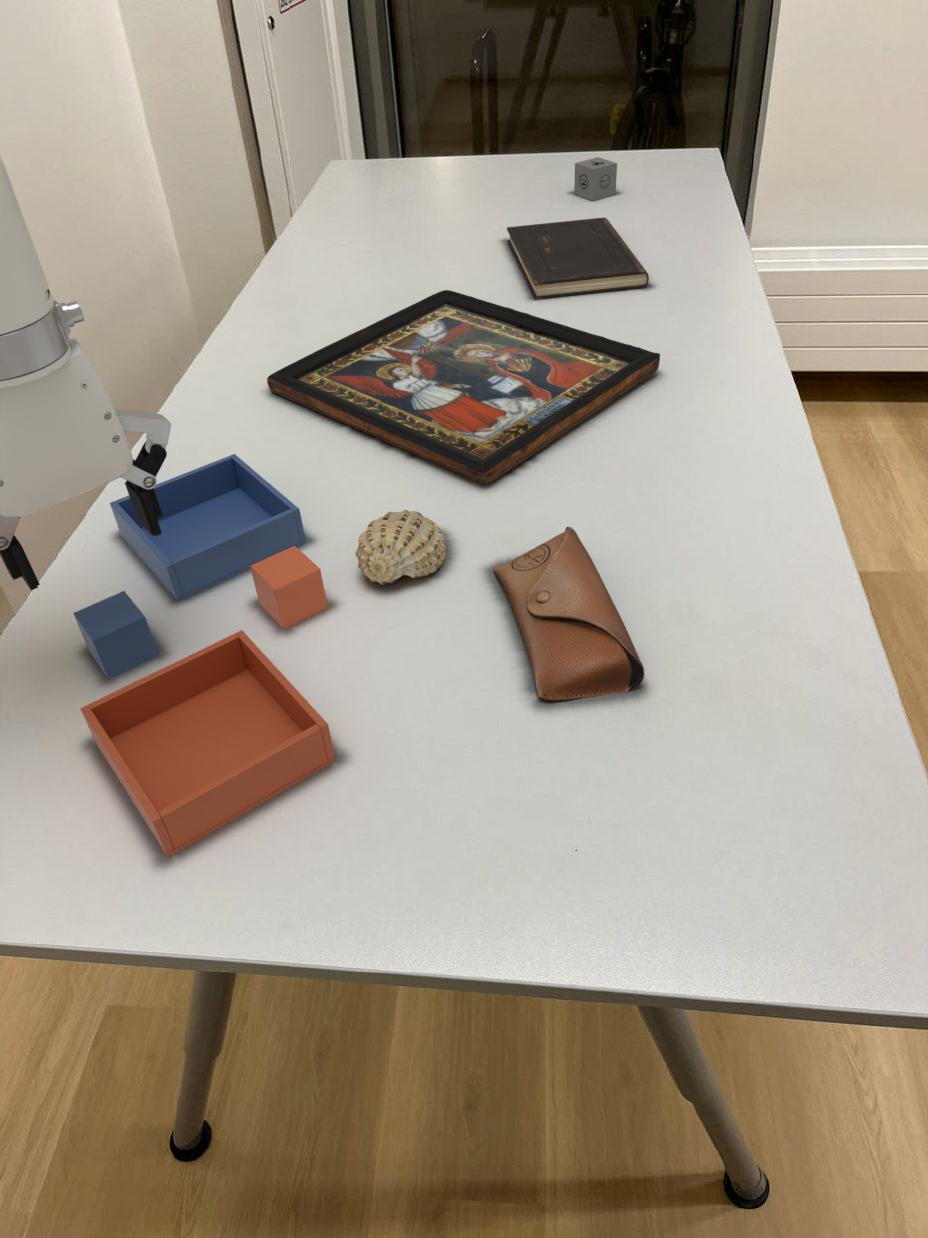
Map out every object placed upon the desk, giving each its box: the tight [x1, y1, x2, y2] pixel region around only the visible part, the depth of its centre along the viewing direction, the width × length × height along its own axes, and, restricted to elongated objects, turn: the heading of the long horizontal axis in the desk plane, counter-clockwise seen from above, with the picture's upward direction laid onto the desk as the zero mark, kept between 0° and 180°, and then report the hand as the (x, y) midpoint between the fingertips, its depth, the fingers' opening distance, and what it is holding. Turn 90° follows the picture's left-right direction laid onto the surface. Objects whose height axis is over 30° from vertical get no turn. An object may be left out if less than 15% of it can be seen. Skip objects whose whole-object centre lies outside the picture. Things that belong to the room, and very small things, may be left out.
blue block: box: [73, 590, 160, 680], centre depth 78 cm, size 4×4×4 cm
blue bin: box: [109, 453, 307, 602], centre depth 90 cm, size 13×13×4 cm
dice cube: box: [573, 156, 618, 202], centre depth 162 cm, size 5×5×5 cm
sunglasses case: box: [492, 526, 645, 702], centre depth 78 cm, size 18×7×7 cm
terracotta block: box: [250, 546, 329, 630], centre depth 82 cm, size 4×4×4 cm
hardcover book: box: [506, 217, 650, 300], centre depth 139 cm, size 16×23×2 cm
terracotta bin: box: [80, 629, 337, 858], centre depth 69 cm, size 13×13×4 cm
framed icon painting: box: [266, 289, 661, 485], centre depth 112 cm, size 38×35×3 cm
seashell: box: [355, 509, 447, 586], centre depth 86 cm, size 8×6×10 cm
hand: (91, 553), depth 73 cm, fingers open, 9 cm apart
